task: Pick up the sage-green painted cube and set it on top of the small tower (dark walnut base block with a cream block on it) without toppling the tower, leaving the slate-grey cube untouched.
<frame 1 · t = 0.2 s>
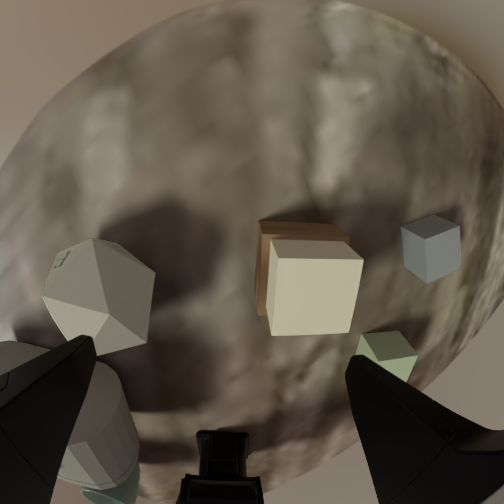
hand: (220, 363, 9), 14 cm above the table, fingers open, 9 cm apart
sage cube: (374, 349, 27), on the table
alarm clock: (67, 375, 27), on the table
die: (117, 275, 23), on the table
tower top: (304, 275, 20), point 4 cm above the table, touching tower base
slate cube: (419, 240, 24), on the table
cup: (120, 450, 33), on the table
tower base: (293, 257, 24), on the table, touching tower top
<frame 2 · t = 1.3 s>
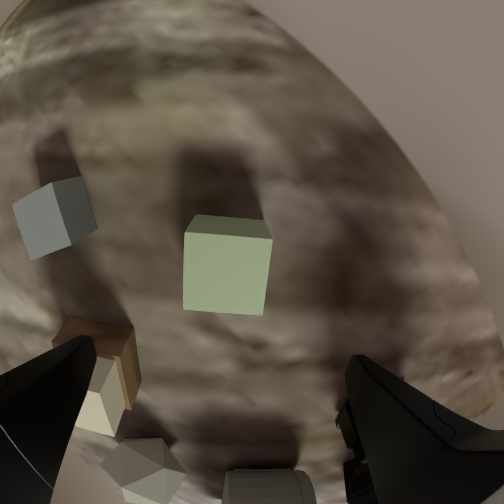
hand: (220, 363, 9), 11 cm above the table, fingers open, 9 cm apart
sage cube: (227, 249, 20), on the table
alarm clock: (256, 483, 31), on the table
die: (148, 444, 27), on the table
tower top: (91, 377, 18), point 4 cm above the table, touching tower base
slate cube: (69, 210, 18), on the table
tower base: (107, 349, 22), on the table, touching tower top
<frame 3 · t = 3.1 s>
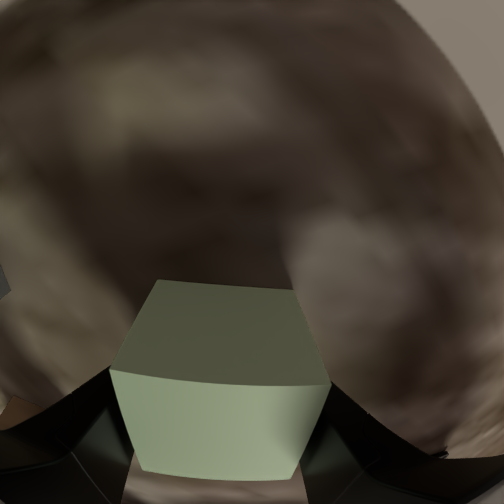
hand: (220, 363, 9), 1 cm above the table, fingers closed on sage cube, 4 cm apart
sage cube: (221, 341, 10), on the table, touching gripper
tower base: (64, 436, 13), on the table, touching tower top
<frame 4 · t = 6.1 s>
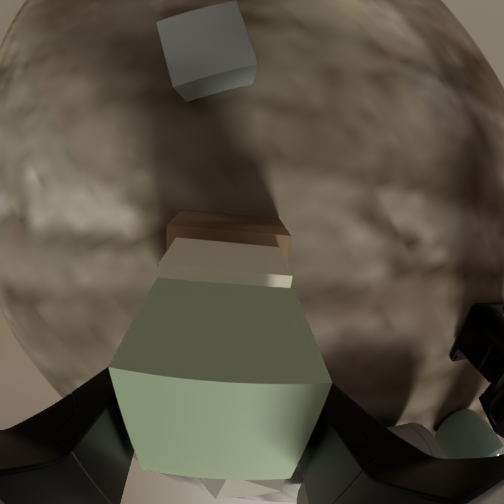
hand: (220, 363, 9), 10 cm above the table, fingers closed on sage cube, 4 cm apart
sage cube: (221, 339, 10), point 9 cm above the table, touching gripper
alarm clock: (346, 455, 28), on the table
die: (239, 414, 23), on the table
tower top: (223, 289, 15), point 4 cm above the table, touching tower base
slate cube: (211, 64, 14), on the table
cup: (449, 419, 28), on the table
tower base: (226, 260, 18), on the table, touching tower top
when the fingers open (10 cm above the table, at t = 6.8 s): sage cube drops 1 cm, resting on tower top.
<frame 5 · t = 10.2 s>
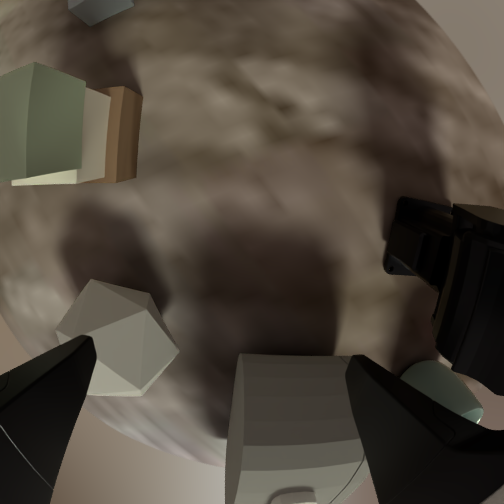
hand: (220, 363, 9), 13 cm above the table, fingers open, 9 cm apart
sage cube: (48, 130, 11), point 7 cm above the table, touching tower top
alarm clock: (276, 403, 27), on the table
die: (131, 314, 23), on the table
tower top: (73, 138, 15), point 4 cm above the table, touching sage cube, tower base
slate cube: (109, 0, 14), on the table
cup: (413, 375, 28), on the table
tower base: (103, 137, 18), on the table, touching tower top
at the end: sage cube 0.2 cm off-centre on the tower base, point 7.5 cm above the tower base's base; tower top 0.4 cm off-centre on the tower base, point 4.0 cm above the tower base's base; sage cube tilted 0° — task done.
